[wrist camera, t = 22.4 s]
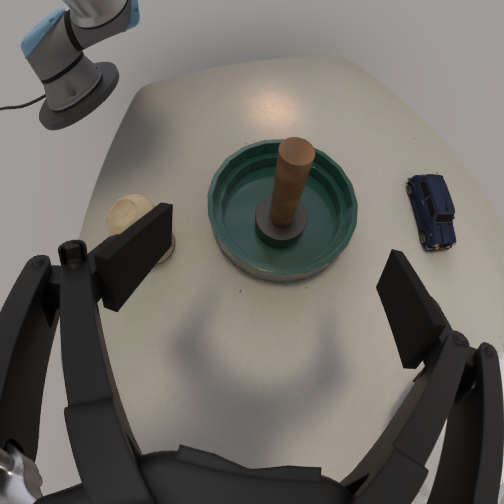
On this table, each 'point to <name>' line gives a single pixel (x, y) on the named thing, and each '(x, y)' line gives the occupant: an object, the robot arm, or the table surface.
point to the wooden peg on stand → (286, 196)
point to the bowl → (261, 184)
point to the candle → (131, 216)
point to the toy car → (433, 211)
